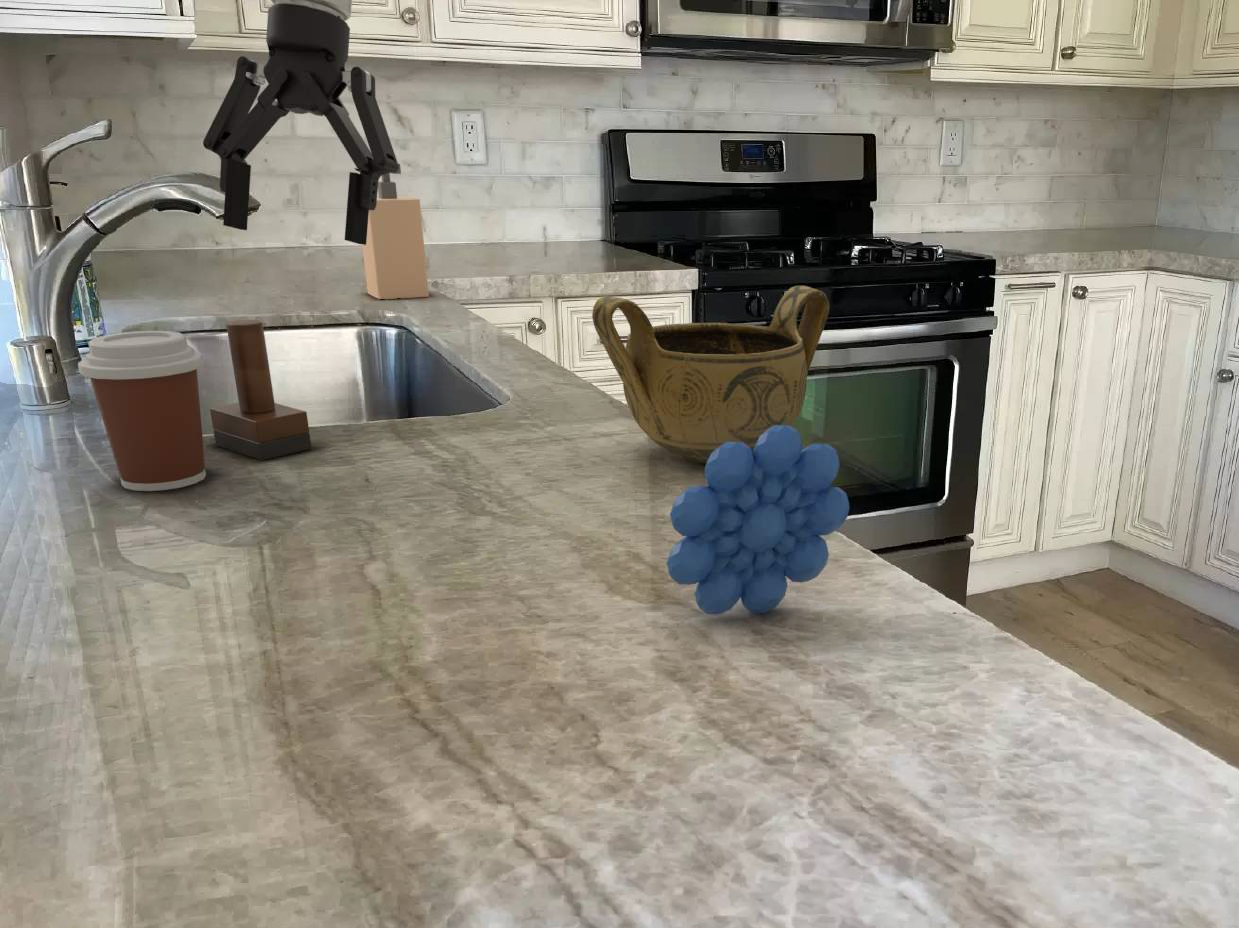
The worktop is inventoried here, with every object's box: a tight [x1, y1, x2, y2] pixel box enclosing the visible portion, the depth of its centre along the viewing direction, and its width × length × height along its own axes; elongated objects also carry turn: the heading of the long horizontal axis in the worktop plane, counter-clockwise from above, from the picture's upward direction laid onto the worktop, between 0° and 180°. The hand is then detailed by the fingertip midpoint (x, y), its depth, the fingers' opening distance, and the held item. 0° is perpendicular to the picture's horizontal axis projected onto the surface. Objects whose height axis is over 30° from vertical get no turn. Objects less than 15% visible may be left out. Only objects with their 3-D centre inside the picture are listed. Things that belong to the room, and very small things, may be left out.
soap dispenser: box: [361, 163, 430, 300], centre depth 192 cm, size 13×9×22 cm
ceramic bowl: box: [591, 285, 830, 465], centre depth 102 cm, size 22×17×15 cm
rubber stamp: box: [209, 319, 312, 461], centre depth 103 cm, size 8×5×12 cm, turn 52°
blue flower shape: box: [666, 425, 851, 616], centre depth 69 cm, size 12×7×12 cm, turn 108°
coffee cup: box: [77, 330, 207, 492], centre depth 93 cm, size 9×9×12 cm
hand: (294, 235), depth 114 cm, fingers open, 13 cm apart
